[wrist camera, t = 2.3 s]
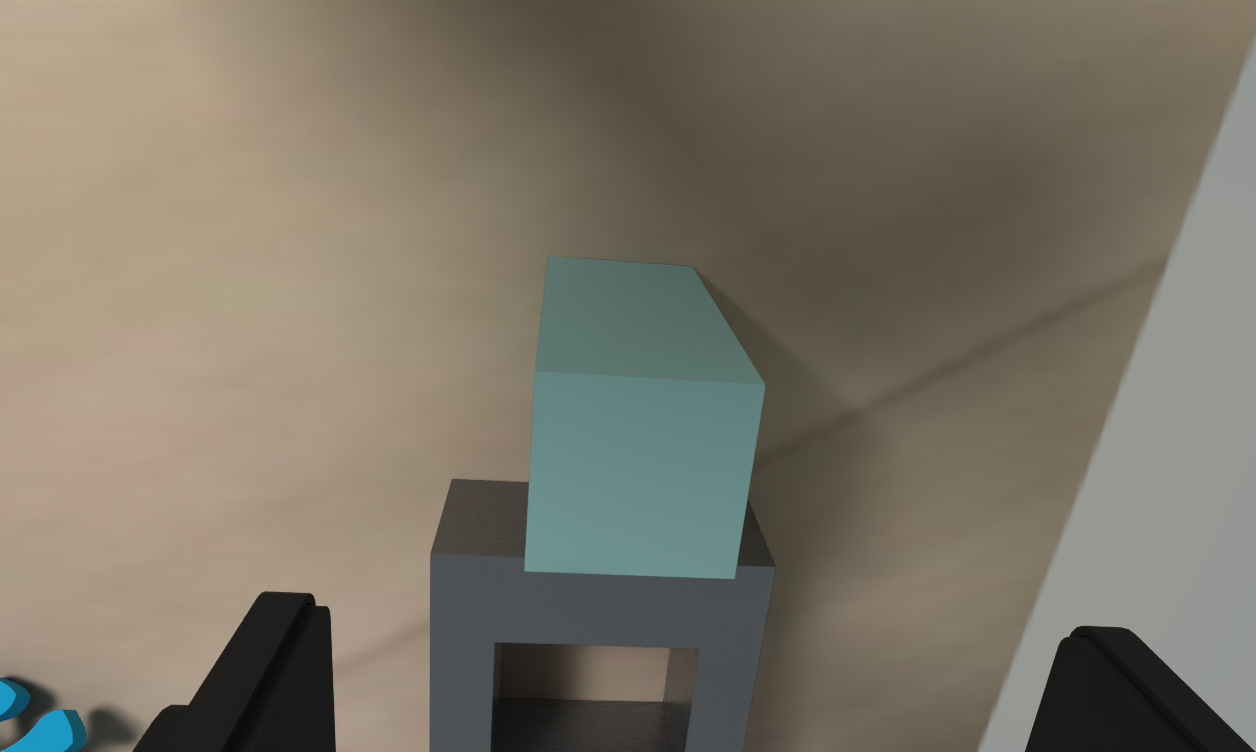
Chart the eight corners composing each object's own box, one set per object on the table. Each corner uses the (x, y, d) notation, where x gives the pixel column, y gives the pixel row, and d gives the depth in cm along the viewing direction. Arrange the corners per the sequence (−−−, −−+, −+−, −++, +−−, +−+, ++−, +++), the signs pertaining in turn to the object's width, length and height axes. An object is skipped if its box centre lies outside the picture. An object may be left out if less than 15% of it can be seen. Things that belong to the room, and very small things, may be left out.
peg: (548, 255, 22) (534, 371, 14) (692, 266, 22) (765, 385, 14) (540, 391, 23) (524, 571, 15) (676, 398, 24) (733, 579, 15)
